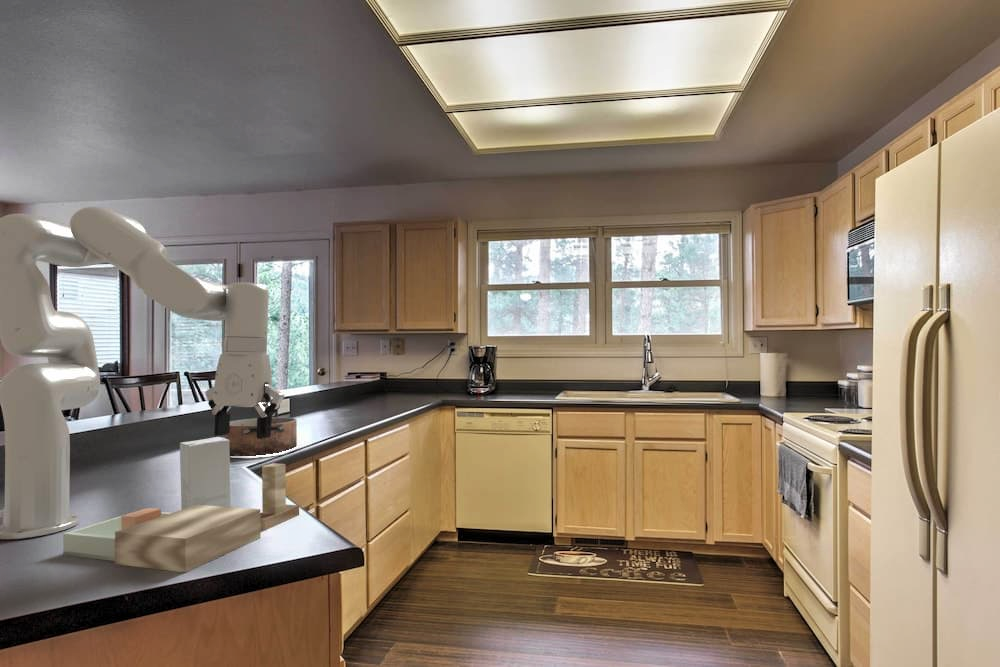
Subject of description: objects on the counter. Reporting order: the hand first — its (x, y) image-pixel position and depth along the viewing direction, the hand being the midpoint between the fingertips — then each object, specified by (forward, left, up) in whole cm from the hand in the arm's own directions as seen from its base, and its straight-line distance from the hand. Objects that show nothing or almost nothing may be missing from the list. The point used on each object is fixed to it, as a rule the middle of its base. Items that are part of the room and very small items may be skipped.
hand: (242, 436), depth 106 cm
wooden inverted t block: (+4, +4, -17) cm, 18 cm away
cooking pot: (-53, +68, -17) cm, 88 cm away
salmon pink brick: (-8, -13, -14) cm, 21 cm away
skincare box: (-16, +7, -17) cm, 24 cm away
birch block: (+1, -13, -17) cm, 22 cm away
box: (-12, -13, -17) cm, 25 cm away
